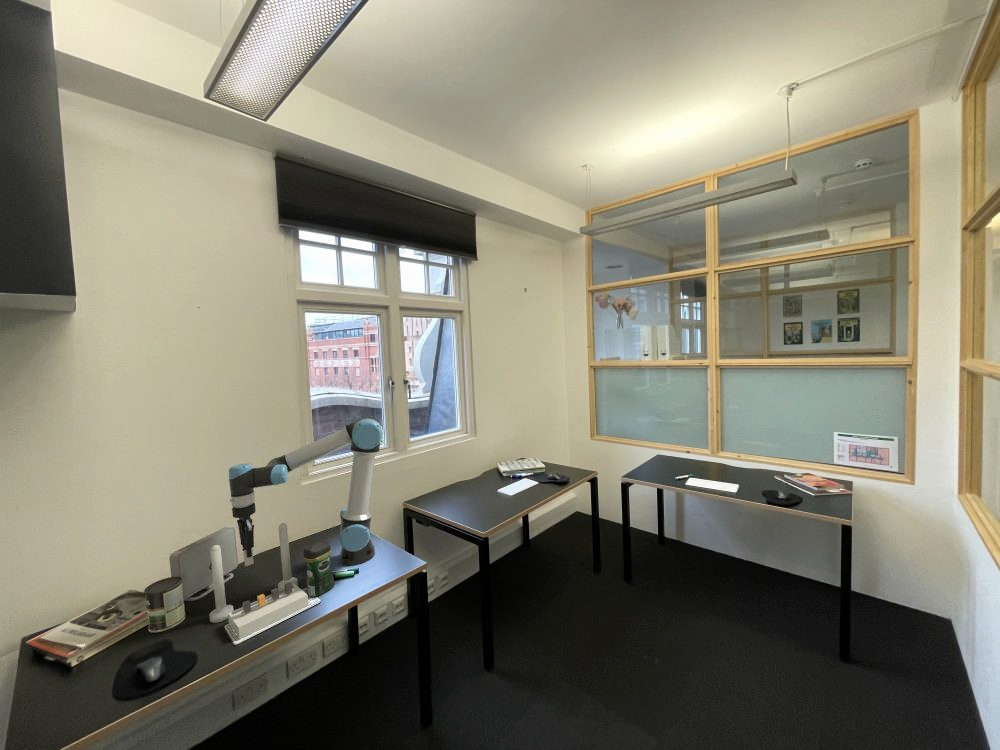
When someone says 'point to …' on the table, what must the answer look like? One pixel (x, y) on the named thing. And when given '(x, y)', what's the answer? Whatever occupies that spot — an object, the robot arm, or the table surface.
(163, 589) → the coffee can
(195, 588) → the network device
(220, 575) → the white peg stand
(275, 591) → the breaker paddles
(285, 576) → the white rod
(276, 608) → the breaker panel
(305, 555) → the coffee jar
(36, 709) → the table surface
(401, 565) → the table surface
